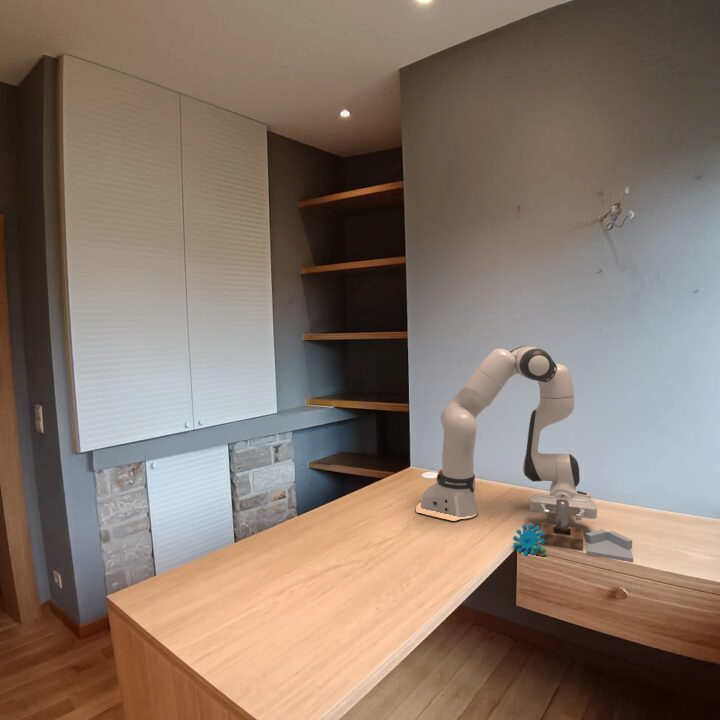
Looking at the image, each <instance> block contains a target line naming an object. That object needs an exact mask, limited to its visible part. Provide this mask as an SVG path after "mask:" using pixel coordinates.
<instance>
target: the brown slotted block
mask: <svg viewBox="0 0 720 720" xmlns="http://www.w3.org/2000/svg"><path fill="white" fill-rule="evenodd" d="M540 529H541V530H540V532H541V531H543V532H544V537H542V536H540V539H542V538H543V539H544V540H545V543H544V544H542V543H541V542H540V544H541V545H544V546H552V547H555V548H556V547H558V548H563V549H564V548H565V549H569V550H574V551H575V550H576V551H582V552H583V551H584V530H583V529H584V528H582V527H581V528H580V527H574V526H568V535H563V534H557V533H556V524H555V523H554V524H553V523H546V522H541V528H540Z"/></svg>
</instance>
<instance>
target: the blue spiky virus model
mask: <svg viewBox="0 0 720 720" xmlns="http://www.w3.org/2000/svg"><path fill="white" fill-rule="evenodd" d="M528 525H529V526H527V525H525V524H524V525H523V524H522V526H521V527H522V530H521V529H520V528H518V529H516V530H515V532H516V533H517V535H518V536H519V538H518V536H516V535H514V536H513V538H512V539H513V541H515V542H513V548H514V549H516V553H518V554H519V555H520V554H522V555H523V556H525V557H528V556H529V553H530V555H531V556H535V555H536V553H537V552H538V553H539V554H541V555H543V556H545V557H547V556H548V554H547V553H546V552H547V549H546V547H544V546H541V545H544V543H545V540H544V539H543V538H542V539H541V536H542V537H544V532H543V531H541V528H540V526H538V525H536V526H535V525H534V524H532V523H529V524H528ZM539 536H540V537H539ZM516 542H519V543H516ZM539 542H540V544H541V543H542V544H541V545H540V544H539ZM519 547H521V548H519ZM536 551H537V552H536Z"/></svg>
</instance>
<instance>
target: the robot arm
mask: <svg viewBox="0 0 720 720" xmlns="http://www.w3.org/2000/svg"><path fill="white" fill-rule="evenodd" d="M472 373H473V374H472V375H471V376H470V377H469V379H468V380H467V381H466V382H465V384H464V386H462V388H461V389H460V390H459V391H458V392H457V393H456V394H455V395H454V396H453V397H452V399H451V400H450V401H448V403H447V404H446V405H445V406H444V407H443V409H442V411H441V412H440V421H441V424H442V428H443V443H442V444H443V445H442V453H441V454H442V455H441V457H442V459H441V460H442V464H441V465H442V467H441V468H442V469H440V470H439V471H438V473H437V475H436V477H435V478H436V482H435V483H434V484H432V485H431V486H429V487H427V488H426V490H425V491H424V492H423V494H422V497H421V499H420V500H419V501H420V502H421V508H422V509H426V510H431V511H436V512H440V513H444V514H449V515H453V516H457V517H466V516H473V515H475V514H477V513H478V514H479V511H478V507H477V503H476V497H475V490H476V476H475V474H474V471H475V470H474V469H475V468H474V461H475V460H474V454H475V453H474V452H475V446H476V436H477V420H476V418H477V417H478V416H479V415H480V414H481V413H482V412H483V411H484V410H485V409H486V408H487V407H488V406H491V404H492V403H493V401H494V400H495V399H496V398H497V396H498V394H499V393H500V392H501V391H502V389H503V388H504V386H505V385H506V384H507V382H508V380H510V379H511V378H512V377H513V376H515V375H517V374H518V375H520V376H521V377H524V378H526V379H528V380H531V381H537V383H538V387H539V403H538V406H537V407H536V408H535V409H534V410H532V412H531V414H530V418H529V424H528V425H529V426H528V433H527V443H526V450H525V456H524V460H523V463H522V464H523V465H522V471H523V473H524V474H523V475H524V476H525V477H526V478H527V479H528V480H529V481H531V482H551V483H550V485H549V486H550V487H549V493H548V495H547V494H542V493H541V494H540V493H535V494H532V495H530V497H529V509H530V510H531V511H532V512H533V511H534V512H539V513H543V516H547V517H549V515H550V514H555V515H556V500H558V499H563V500H567V501H568V502H569V517H575V520H577V521H582V519H584V518H585V519H590V520H595V519H597V518H598V517H597V516H598V507H597V504H596V502H595V500H593V499H592V496H591V494H590V493H587V492H583V491H579V490H577V487H578V486H579V484H580V479H581V478H580V466H579V463H578V460H577V458H575V457H574V456H573V455H572V454H571V453H541V452H539V444H540V435H541V432H542V430H543V429H545V428H546V427H548V426H550V425H554V424H556V423H559V422H561V421H563V420H565V419H566V418H568V417H569V416H570V415H571V414H572V413H573V410H574V406H575V393H574V386H573V385H574V384H573V380H572V376H571V372H570V369H569V368H568V367H567V366H566V365H564V364H562V363H561V364H560V363H556V362H555V361H554V360H553V359H552V357H551V355H550V354H549V353H548V352H547V351H546V350H543V349H542V348H541V349H540V347H537V346H532V345H522V346H519V347H516V348H514V349H512V350H510V351H509V350H507V349H504V348H496V349H494V350H492V351H491V352H490V353H489V354H488V355H487V356H486V357H485V358H484V359H483V360H482V362H480V364H479V365H478V366H477V368H476V369H475V370H474V372H472Z"/></svg>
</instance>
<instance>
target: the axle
mask: <svg viewBox="0 0 720 720" xmlns="http://www.w3.org/2000/svg"><path fill="white" fill-rule="evenodd" d="M569 517H570V516H569V502H568V501H567V500H563V499H558V500H556V514H555V525H556V533H557V534H563V535H568V527H569Z"/></svg>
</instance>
